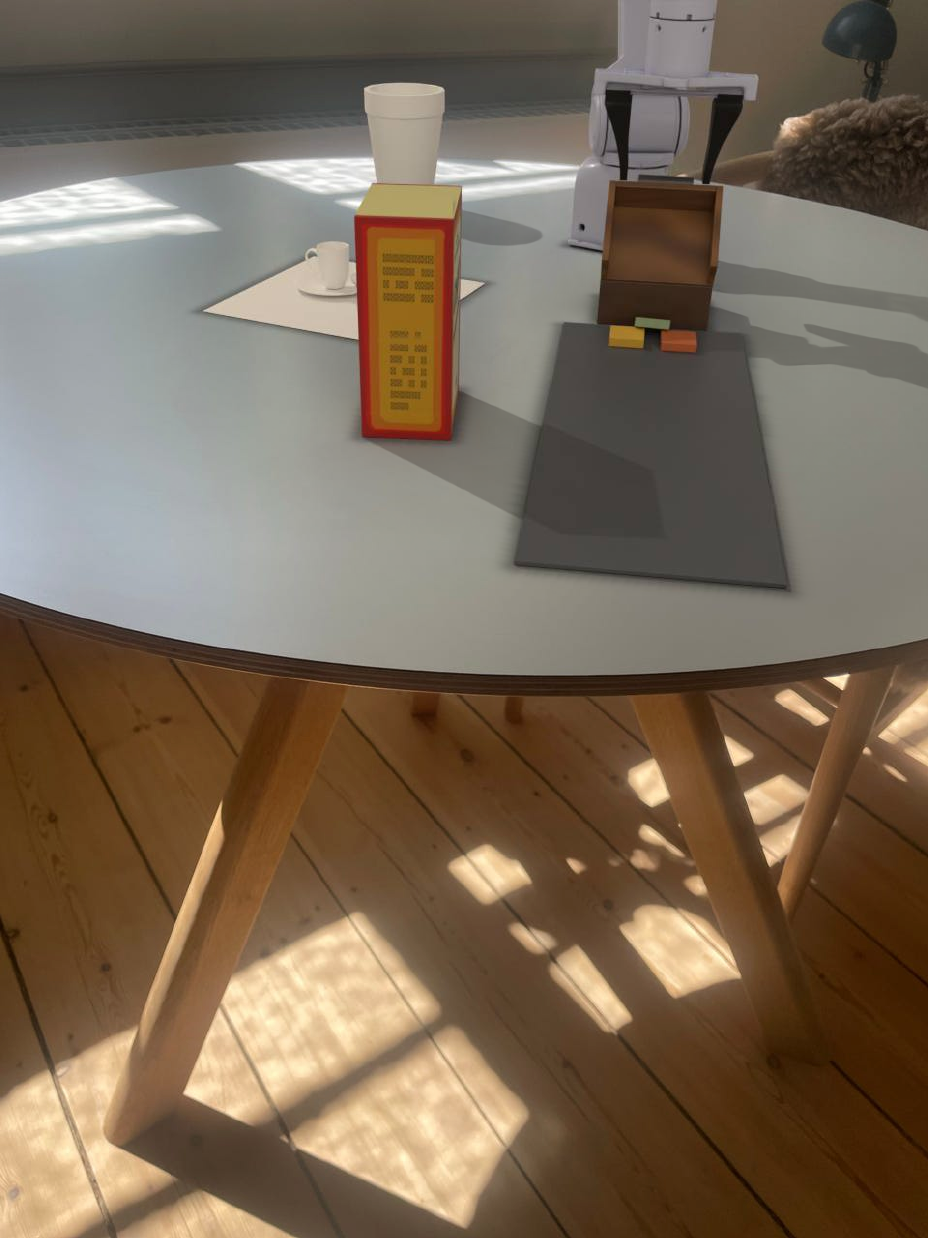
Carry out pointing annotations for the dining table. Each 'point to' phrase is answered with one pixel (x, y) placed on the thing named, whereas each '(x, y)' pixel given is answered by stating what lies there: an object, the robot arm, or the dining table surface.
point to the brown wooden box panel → (654, 303)
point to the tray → (662, 231)
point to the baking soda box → (409, 309)
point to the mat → (651, 464)
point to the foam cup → (405, 130)
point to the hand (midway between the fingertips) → (664, 179)
